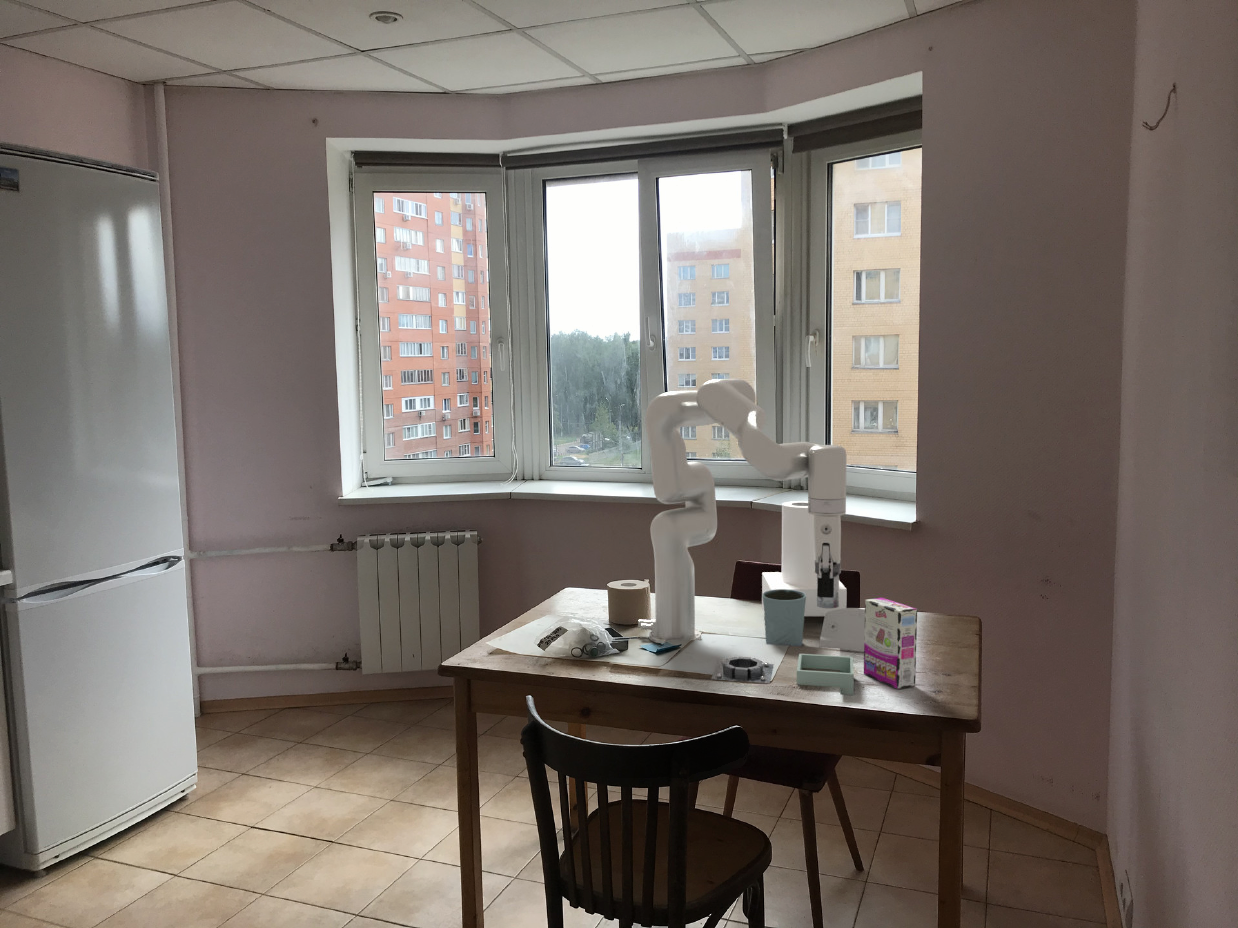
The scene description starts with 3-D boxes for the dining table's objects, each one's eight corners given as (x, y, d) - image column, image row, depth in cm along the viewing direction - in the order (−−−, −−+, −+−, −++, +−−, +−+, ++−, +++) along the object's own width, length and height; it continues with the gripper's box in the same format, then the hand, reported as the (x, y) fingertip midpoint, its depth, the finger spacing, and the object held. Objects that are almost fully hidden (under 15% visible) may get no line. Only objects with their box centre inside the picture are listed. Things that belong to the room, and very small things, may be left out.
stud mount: (711, 685, 191) (711, 670, 191) (718, 667, 203) (718, 652, 203) (769, 689, 189) (769, 674, 188) (773, 670, 200) (773, 655, 200)
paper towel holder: (770, 628, 232) (771, 510, 229) (762, 608, 251) (762, 499, 247) (846, 628, 231) (847, 509, 228) (831, 608, 250) (833, 498, 247)
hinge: (817, 646, 216) (820, 604, 218) (820, 648, 221) (823, 606, 223) (891, 654, 210) (893, 610, 212) (893, 655, 214) (895, 612, 216)
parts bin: (796, 691, 188) (796, 670, 187) (799, 672, 199) (799, 653, 198) (853, 694, 185) (853, 674, 185) (852, 676, 196) (853, 656, 195)
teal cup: (803, 637, 224) (804, 589, 222) (807, 650, 214) (808, 599, 212) (761, 636, 225) (761, 588, 223) (763, 649, 215) (763, 599, 213)
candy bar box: (917, 686, 190) (919, 608, 188) (897, 690, 188) (899, 611, 186) (881, 670, 200) (882, 596, 198) (862, 673, 198) (863, 598, 196)
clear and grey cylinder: (832, 610, 186) (832, 564, 185) (810, 606, 190) (809, 561, 189) (845, 604, 190) (845, 560, 189) (823, 600, 194) (823, 556, 193)
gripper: (845, 513, 179) (844, 605, 181) (845, 500, 195) (844, 584, 197) (806, 512, 180) (805, 603, 182) (809, 499, 197) (808, 583, 199)
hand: (825, 592), depth 190 cm, fingers closed on clear and grey cylinder, 4 cm apart
